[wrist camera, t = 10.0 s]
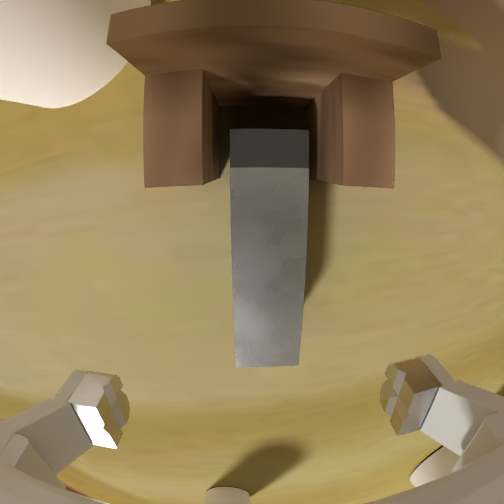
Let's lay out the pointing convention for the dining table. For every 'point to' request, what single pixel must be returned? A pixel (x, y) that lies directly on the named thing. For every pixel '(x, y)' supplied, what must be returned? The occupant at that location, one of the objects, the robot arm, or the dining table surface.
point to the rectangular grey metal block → (268, 243)
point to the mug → (227, 496)
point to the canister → (57, 49)
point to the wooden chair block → (270, 80)
